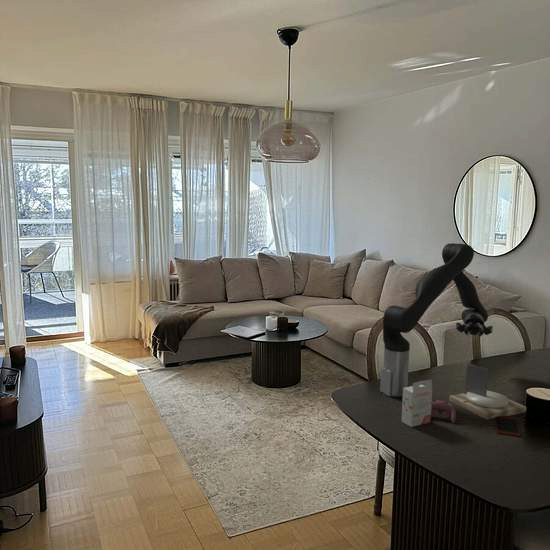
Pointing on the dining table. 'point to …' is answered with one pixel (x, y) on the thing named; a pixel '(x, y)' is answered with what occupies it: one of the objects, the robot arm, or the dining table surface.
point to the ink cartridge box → (417, 403)
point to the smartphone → (507, 426)
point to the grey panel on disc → (482, 389)
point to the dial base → (487, 411)
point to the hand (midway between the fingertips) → (473, 332)
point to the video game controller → (445, 406)
